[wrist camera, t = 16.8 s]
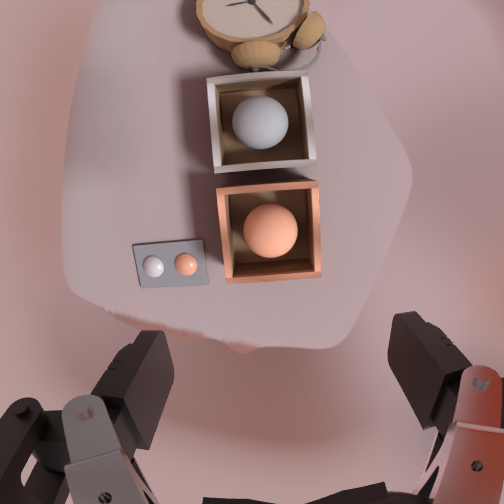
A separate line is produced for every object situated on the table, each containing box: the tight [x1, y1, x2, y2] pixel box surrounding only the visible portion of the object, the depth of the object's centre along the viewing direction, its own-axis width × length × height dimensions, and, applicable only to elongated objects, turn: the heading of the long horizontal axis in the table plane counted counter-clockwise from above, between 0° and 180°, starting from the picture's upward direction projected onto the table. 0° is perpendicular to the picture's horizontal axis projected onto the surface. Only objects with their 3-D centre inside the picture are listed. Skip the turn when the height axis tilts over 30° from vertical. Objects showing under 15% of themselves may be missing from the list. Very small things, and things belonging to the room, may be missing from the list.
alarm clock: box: [196, 0, 327, 73], centre depth 23 cm, size 11×5×15 cm
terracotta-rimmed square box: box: [216, 179, 321, 284], centre depth 28 cm, size 9×9×5 cm
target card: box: [133, 239, 209, 288], centre depth 32 cm, size 5×8×1 cm, turn 95°
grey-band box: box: [207, 70, 317, 174], centre depth 26 cm, size 9×9×5 cm
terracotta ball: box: [243, 203, 298, 258], centre depth 28 cm, size 5×5×5 cm
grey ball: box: [232, 96, 288, 149], centre depth 25 cm, size 5×5×5 cm
